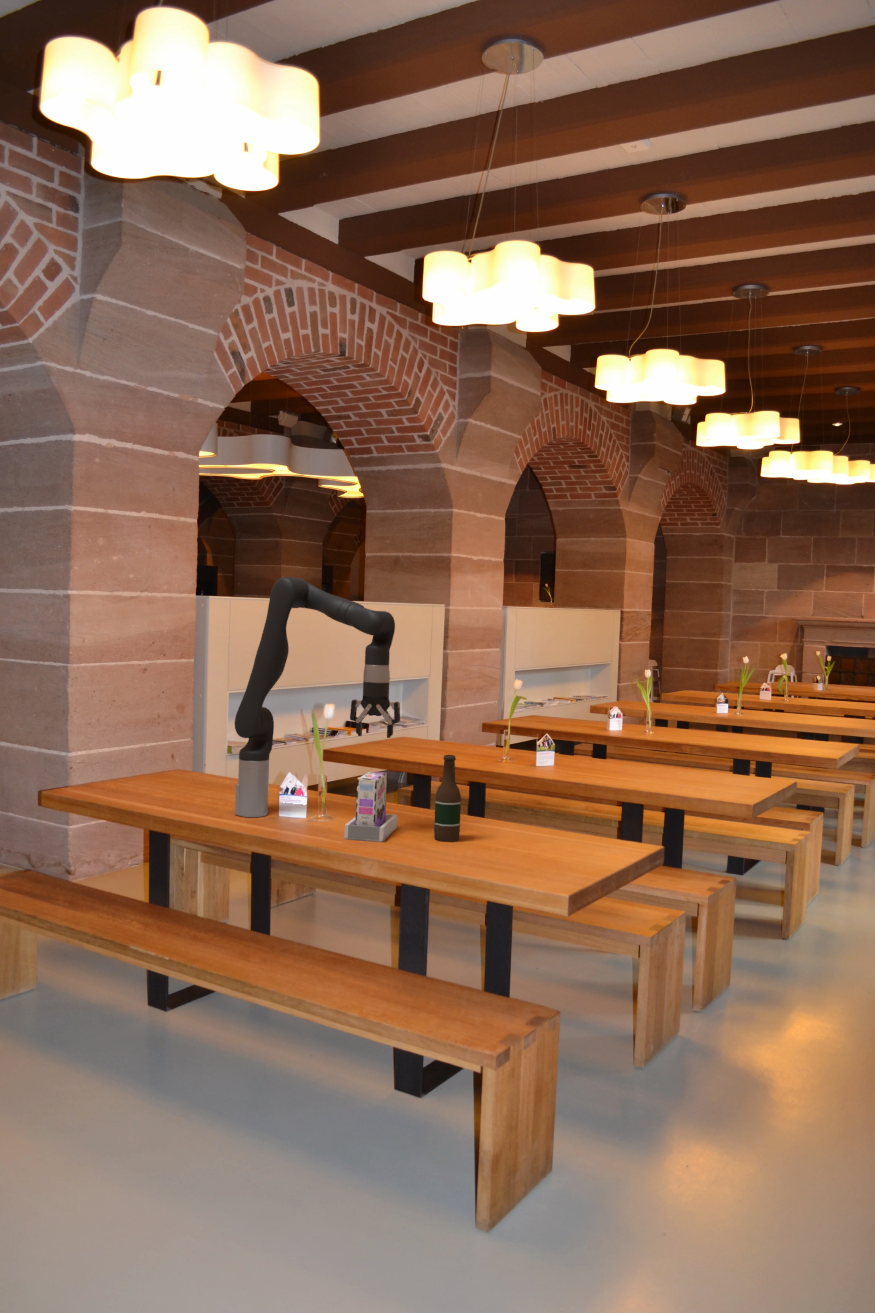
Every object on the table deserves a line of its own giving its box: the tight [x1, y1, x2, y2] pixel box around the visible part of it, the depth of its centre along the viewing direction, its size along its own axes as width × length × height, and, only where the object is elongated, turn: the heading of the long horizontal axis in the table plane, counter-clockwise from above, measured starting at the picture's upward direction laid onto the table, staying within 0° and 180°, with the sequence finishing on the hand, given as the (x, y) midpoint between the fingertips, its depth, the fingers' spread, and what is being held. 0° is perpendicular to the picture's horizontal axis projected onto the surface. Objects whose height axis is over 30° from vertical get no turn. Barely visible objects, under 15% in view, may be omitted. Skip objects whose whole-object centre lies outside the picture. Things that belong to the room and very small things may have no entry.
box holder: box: [343, 813, 398, 843], centre depth 286 cm, size 11×19×4 cm, turn 171°
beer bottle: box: [433, 754, 462, 843], centre depth 282 cm, size 8×8×24 cm
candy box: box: [355, 771, 388, 827], centre depth 286 cm, size 14×6×16 cm, turn 170°
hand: (374, 736), depth 285 cm, fingers open, 8 cm apart
